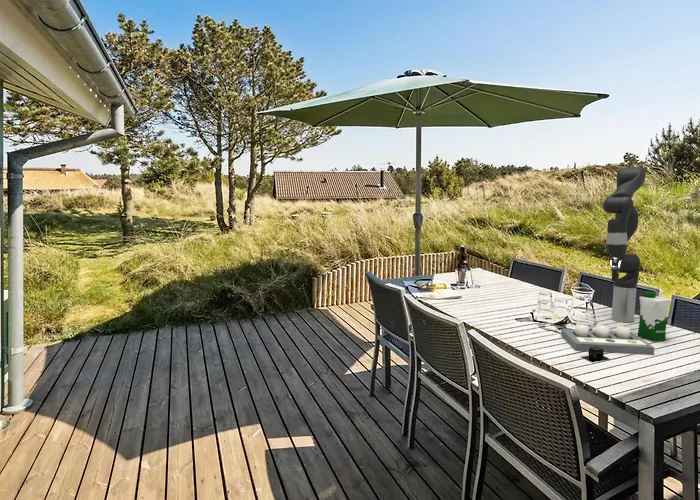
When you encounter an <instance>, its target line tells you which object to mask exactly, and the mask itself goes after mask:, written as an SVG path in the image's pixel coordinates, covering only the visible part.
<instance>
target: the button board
mask: <svg viewBox="0 0 700 500" xmlns="http://www.w3.org/2000/svg"><path fill="white" fill-rule="evenodd" d="M616 331H617V330H615V331H614V330H613V331H612V330H609V338H602V339H618V338H617V337H616ZM595 334H596V329H595V330H593V329H592V330H591V329H588V337H581V338H597V337H596V336H595ZM560 335H561V337H562V338H563V340H565V341H566V342H567V343H568V345H570V346H571V347H572V349H573V350H575V351H577V352H589V348H590V347H596V346H597V347H600V348H602V349H603V351H604V353H615V354H629V355H632V354H633V355H648V356H649V355H650V356H652V355H653V356H654V355H655V349H656V348H655V346H653V344H650V343H649V342H647V341H645V339H643V338H641V337H638V336H637V335H636V334H635V333H634V332H632V331H630V339H624V340H640V341H642V342H643V343H645V344H646V345H647V346H642V345H621V344H601V343H581V342H579V341H578V340H577V339H576V336H575V328H574V329H567V328H566V329H565V328H561V333H560Z"/></svg>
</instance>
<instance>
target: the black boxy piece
mask: <svg viewBox="0 0 700 500" xmlns="http://www.w3.org/2000/svg"><path fill="white" fill-rule="evenodd" d="M587 353H588V354H587V355H583V356H580V358H581V359H583V360H585V361H588V362H589V363H596V362H602V361H609V360H611V358H609V357H607V356H605V355H604V354H605V352H604V351H603V349H602V348H600V347H597V346H596V347H590V348H589V351H588V352H587Z"/></svg>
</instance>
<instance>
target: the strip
mask: <svg viewBox="0 0 700 500" xmlns="http://www.w3.org/2000/svg"><path fill="white" fill-rule="evenodd" d="M576 339H577V340H578V341H579V342H581V343H601V344H621V345H642V346H647V345H646V344H645V343H643V342H642V341H640V340H624V339H602V338H581V337H576Z"/></svg>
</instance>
